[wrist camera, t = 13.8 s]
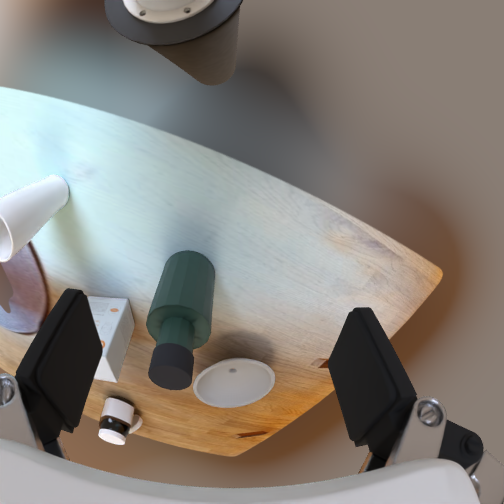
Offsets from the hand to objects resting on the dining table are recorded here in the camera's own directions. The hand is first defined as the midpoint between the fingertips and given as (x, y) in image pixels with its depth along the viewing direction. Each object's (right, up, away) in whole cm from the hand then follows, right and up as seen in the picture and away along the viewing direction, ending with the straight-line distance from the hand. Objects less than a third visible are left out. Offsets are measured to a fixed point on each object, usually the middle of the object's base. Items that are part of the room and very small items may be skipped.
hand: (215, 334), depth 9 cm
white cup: (-27, +12, +24) cm, 38 cm away
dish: (-2, -20, +44) cm, 48 cm away
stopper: (-7, -6, +22) cm, 24 cm away
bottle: (-8, 0, +32) cm, 33 cm away
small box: (-23, -7, +35) cm, 43 cm away
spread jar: (-32, -38, +51) cm, 71 cm away
